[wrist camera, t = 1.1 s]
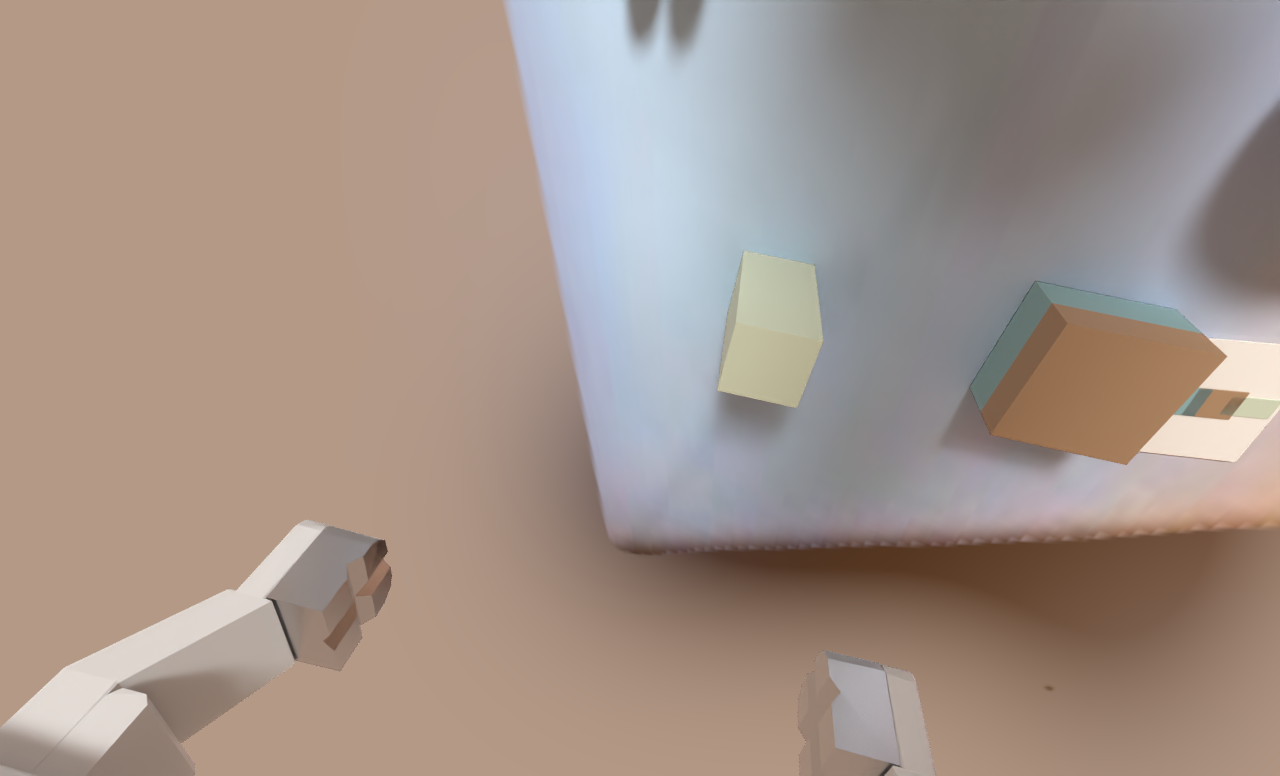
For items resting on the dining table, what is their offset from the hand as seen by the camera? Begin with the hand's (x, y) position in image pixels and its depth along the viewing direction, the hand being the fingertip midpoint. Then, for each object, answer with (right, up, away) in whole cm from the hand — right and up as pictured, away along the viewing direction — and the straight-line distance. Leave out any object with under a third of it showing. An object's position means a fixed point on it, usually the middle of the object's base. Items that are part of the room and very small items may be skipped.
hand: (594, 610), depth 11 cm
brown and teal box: (+31, +7, +30) cm, 44 cm away
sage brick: (+10, +11, +32) cm, 35 cm away
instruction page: (+41, +3, +30) cm, 51 cm away
